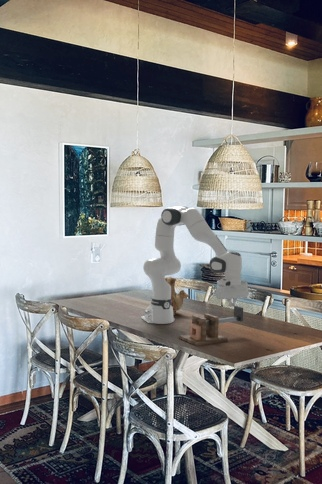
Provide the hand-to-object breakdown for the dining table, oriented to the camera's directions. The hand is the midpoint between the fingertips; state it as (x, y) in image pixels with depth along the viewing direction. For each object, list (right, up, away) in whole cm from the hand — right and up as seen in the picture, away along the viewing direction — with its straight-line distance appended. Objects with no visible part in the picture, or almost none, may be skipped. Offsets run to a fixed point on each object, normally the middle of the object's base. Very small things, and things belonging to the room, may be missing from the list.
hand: (231, 306), depth 285 cm
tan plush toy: (-32, -12, +54) cm, 64 cm away
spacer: (-21, -12, -12) cm, 27 cm away
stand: (-15, -17, -8) cm, 24 cm away
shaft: (-6, -8, -3) cm, 11 cm away
